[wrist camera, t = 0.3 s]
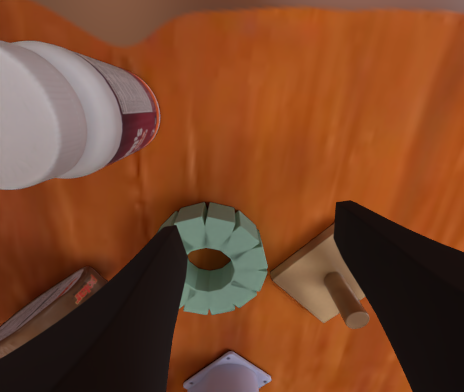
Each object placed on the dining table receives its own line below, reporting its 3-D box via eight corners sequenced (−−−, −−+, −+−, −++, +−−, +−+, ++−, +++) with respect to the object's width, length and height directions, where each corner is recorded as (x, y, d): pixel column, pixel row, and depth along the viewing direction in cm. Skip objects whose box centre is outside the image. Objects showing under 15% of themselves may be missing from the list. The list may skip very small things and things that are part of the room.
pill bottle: (125, 164, 20) (8, 232, 9) (67, 103, 18) (-164, 101, 7) (178, 120, 18) (112, 140, 8) (121, 48, 16) (-65, -48, 6)
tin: (31, 326, 27) (-50, 417, 19) (7, 310, 26) (-88, 400, 18) (123, 268, 24) (72, 347, 16) (101, 247, 23) (35, 321, 15)
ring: (212, 306, 26) (210, 330, 23) (134, 251, 23) (122, 271, 20) (283, 250, 23) (291, 269, 21) (206, 180, 20) (202, 192, 18)
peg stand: (319, 314, 27) (343, 369, 21) (269, 272, 24) (281, 321, 19) (386, 270, 25) (432, 319, 19) (338, 219, 22) (375, 258, 17)
